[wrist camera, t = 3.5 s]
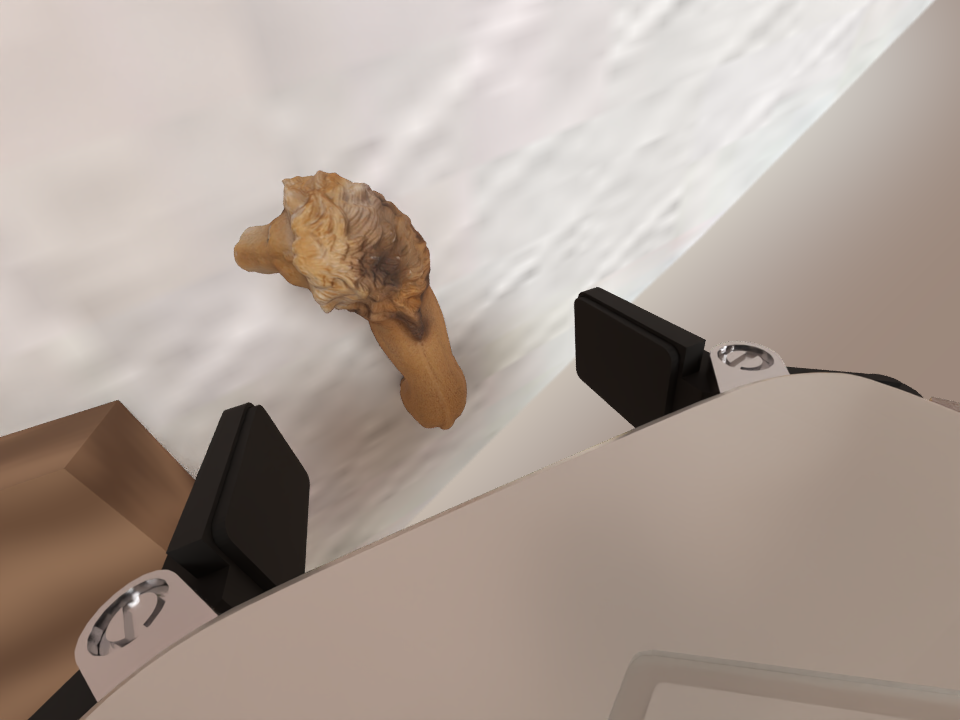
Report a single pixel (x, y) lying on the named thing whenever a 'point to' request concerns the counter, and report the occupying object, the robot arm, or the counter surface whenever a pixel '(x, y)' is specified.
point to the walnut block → (75, 538)
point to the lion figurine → (365, 280)
